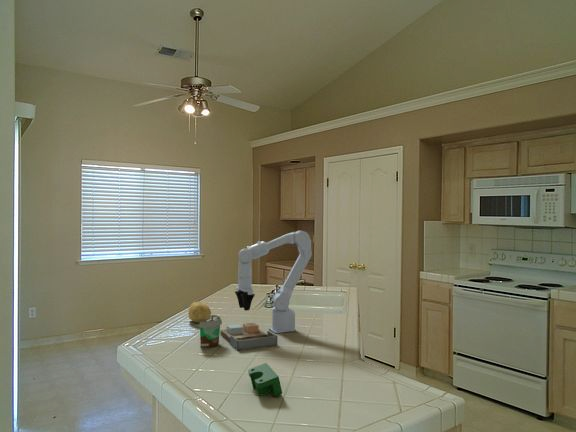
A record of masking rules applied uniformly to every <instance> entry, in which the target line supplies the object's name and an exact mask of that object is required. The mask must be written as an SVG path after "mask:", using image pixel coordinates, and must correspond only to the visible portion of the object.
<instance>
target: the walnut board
mask: <svg viewBox="0 0 576 432" xmlns="http://www.w3.org/2000/svg"><path fill="white" fill-rule="evenodd" d="M219 336H221V337H222V338H223V339H224V340H226V341H227V342H228V343H229V344H230V334H229V333H228V332H227V328H226V329H225V328H224V329H220V334H219ZM232 336H233V337H235V338H236V339H237V340H246V339H254V338H262V337H267V332H266V333H265V332H264V331H263V330H261V329H260V328H259V331H258V332H250V333H247V332H245V331H244V330H243V326H242V333H241V334H233V335H232Z"/></svg>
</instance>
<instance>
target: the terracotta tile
mask: <svg viewBox="0 0 576 432" xmlns="http://www.w3.org/2000/svg"><path fill="white" fill-rule="evenodd" d="M259 326H260V325H259V324H257V323H256V322H246V323H242V327H243V330H244V331H245V332H247V333H250V332H258V331H259V329H260V327H259Z"/></svg>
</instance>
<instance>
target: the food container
mask: <svg viewBox="0 0 576 432" xmlns="http://www.w3.org/2000/svg"><path fill="white" fill-rule="evenodd" d="M198 324H199V326H198V328H199V332H200V333H199V338H200V339H199V342H200V349H211V348H215V347H218V346H219V344H220V330H221V325H222V324H223V321H222V318H221V316H219V315H217V314H211V318H209V319H206V320H205V321H204V322H200V323H198Z"/></svg>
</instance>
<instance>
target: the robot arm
mask: <svg viewBox="0 0 576 432" xmlns="http://www.w3.org/2000/svg"><path fill="white" fill-rule="evenodd" d="M286 244H291V245H294V244H295V246H296V247H297V250H298V253H299V255H298V257H297V258H296V260H295V262H294V264H293V266H292V267H291V270H290V271H289V273H288V275H287V277H286V279H285V280H284V282H283V284H282V286H281V287H280V288H279V290H278V292H276V293H274V294H273V296H272V303H273V305H274V306H273V307H272V309H271V311H272V312H271V313H272V314H271V316H272V318H271V327H268V330H269V331H270V332H272V333H274V334H282V333H288V332H296V313H295V311H294V309H293V308H289V305H290V299H291V297H292V295H293V291H294V289H295V288H296V285H297V284H298V282H299V280H300V279H301V278H300V277H301V276H302V275H303V272H304V271H305V269H306V267H307V265H308V263H309V261H310V260H311V258H312V255H313V253H312V239H311V237H310V235H309V233H308V232H307V231H304V230H297V231H292V232H289V233H286V234H284V235H281V236H280V237H276V238H275V239H272V240H269V241H268V242H266V241H260V240H258V241H257V242H256V243H255V244H253V245H251V246H249V245H247V246H246V248H242V249H240V250H239V251H238V254H237V258H238V266H237V284H236V287H234V288H235V291H234V293H235V295H236V298H237V302H238V306H239V307H238V308H240V309H243V310H244V311H245V312H246V311H250V309H251V306H252V305H251V304H252V302H253V300H254V297H255V295H256V294H255V293H254V289H253V287H252V271H253V269H252V260H255V259H258V258H261V257H262V256H265V255H267V254H269V251H270V250H272V249H275V248H276V247H280V246H282V245H286Z"/></svg>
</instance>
